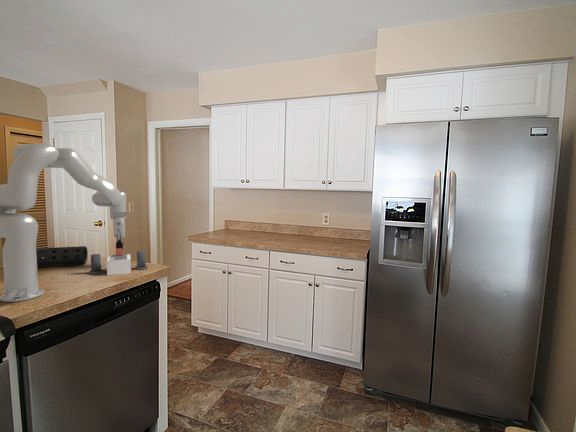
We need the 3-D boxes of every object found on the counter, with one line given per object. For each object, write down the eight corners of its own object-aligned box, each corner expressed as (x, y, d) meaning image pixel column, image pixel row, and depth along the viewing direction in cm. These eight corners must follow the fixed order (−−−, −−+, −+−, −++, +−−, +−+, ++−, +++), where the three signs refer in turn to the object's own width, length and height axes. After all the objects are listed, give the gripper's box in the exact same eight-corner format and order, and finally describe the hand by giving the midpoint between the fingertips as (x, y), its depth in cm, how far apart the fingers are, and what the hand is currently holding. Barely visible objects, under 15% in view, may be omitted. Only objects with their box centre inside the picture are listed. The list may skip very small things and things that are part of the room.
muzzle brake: (83, 266, 160) (83, 247, 159) (16, 271, 150) (15, 250, 149) (88, 262, 169) (87, 244, 168) (25, 266, 159) (24, 246, 158)
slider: (122, 255, 155) (122, 249, 155) (115, 255, 154) (115, 249, 154) (122, 254, 157) (122, 248, 157) (115, 254, 156) (115, 248, 156)
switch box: (130, 273, 150) (130, 258, 150) (107, 275, 146) (106, 260, 145) (130, 267, 161) (130, 253, 160) (108, 269, 156) (108, 255, 156)
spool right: (148, 269, 158) (147, 252, 157) (135, 270, 155) (134, 253, 154) (147, 266, 163) (147, 250, 162) (134, 267, 160) (134, 250, 159)
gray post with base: (102, 273, 148) (102, 255, 147) (88, 275, 145) (87, 256, 145) (103, 270, 154) (103, 253, 153) (89, 272, 151) (88, 254, 150)
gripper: (126, 216, 154) (127, 252, 156) (126, 213, 168) (127, 246, 169) (109, 216, 151) (110, 253, 153) (110, 214, 164) (111, 247, 166)
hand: (119, 249), depth 161 cm, fingers closed
